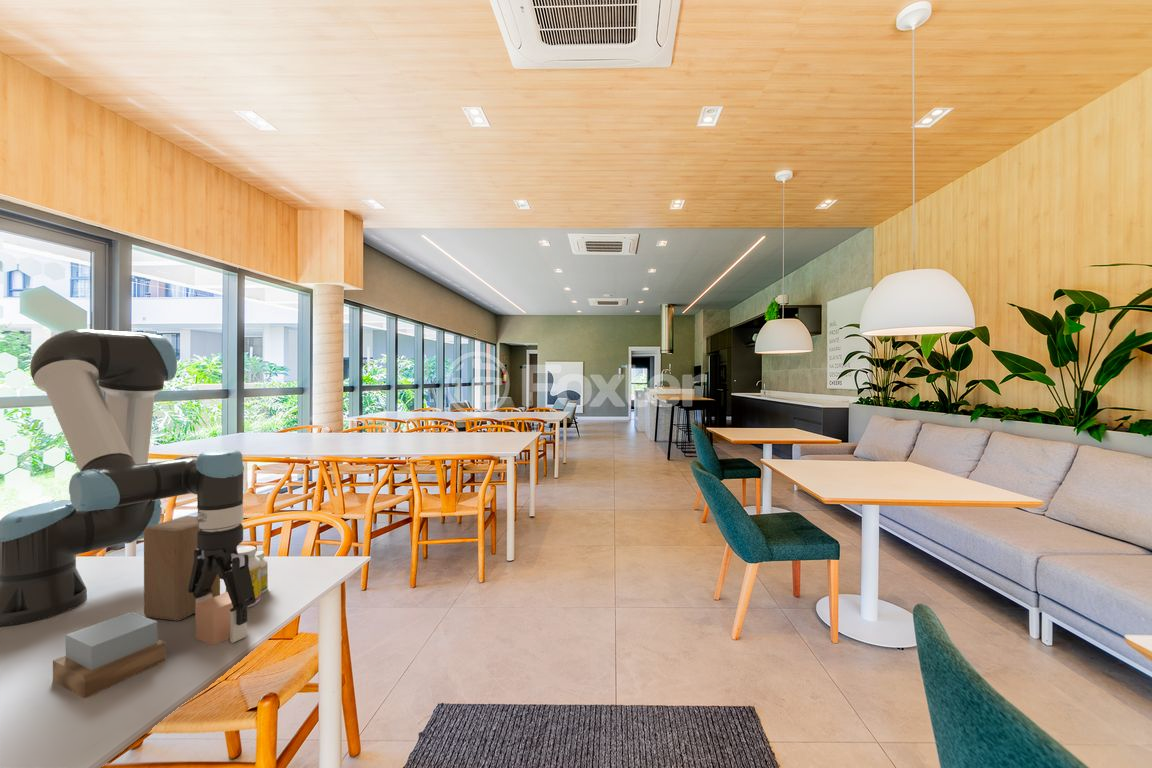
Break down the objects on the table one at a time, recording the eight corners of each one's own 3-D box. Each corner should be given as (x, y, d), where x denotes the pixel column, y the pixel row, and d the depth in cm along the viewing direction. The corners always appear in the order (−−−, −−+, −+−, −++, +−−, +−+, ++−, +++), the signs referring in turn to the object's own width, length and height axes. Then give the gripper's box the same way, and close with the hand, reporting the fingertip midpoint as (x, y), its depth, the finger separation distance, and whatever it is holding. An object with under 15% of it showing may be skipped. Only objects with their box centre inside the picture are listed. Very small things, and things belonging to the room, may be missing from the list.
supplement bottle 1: (221, 613, 104) (221, 556, 104) (230, 600, 110) (230, 546, 110) (257, 607, 107) (257, 552, 107) (263, 595, 113) (263, 542, 113)
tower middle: (65, 657, 82) (65, 634, 82) (131, 632, 90) (131, 611, 90) (91, 670, 78) (91, 646, 78) (157, 643, 86) (157, 621, 86)
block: (178, 623, 100) (178, 530, 100) (141, 618, 102) (141, 527, 102) (222, 601, 110) (222, 517, 110) (187, 597, 112) (187, 514, 112)
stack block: (195, 638, 94) (195, 604, 94) (227, 624, 100) (227, 591, 100) (213, 645, 92) (213, 610, 92) (245, 630, 97) (245, 597, 97)
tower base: (52, 683, 81) (52, 660, 81) (133, 649, 91) (133, 629, 91) (84, 700, 76) (84, 676, 76) (165, 663, 87) (165, 642, 87)
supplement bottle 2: (272, 588, 117) (272, 550, 117) (253, 598, 111) (253, 558, 111) (255, 586, 118) (255, 548, 118) (235, 595, 113) (235, 556, 113)
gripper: (166, 524, 97) (166, 630, 97) (237, 539, 88) (237, 656, 88) (206, 515, 104) (207, 613, 104) (276, 528, 95) (276, 635, 95)
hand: (221, 633), depth 96 cm, fingers open, 11 cm apart
